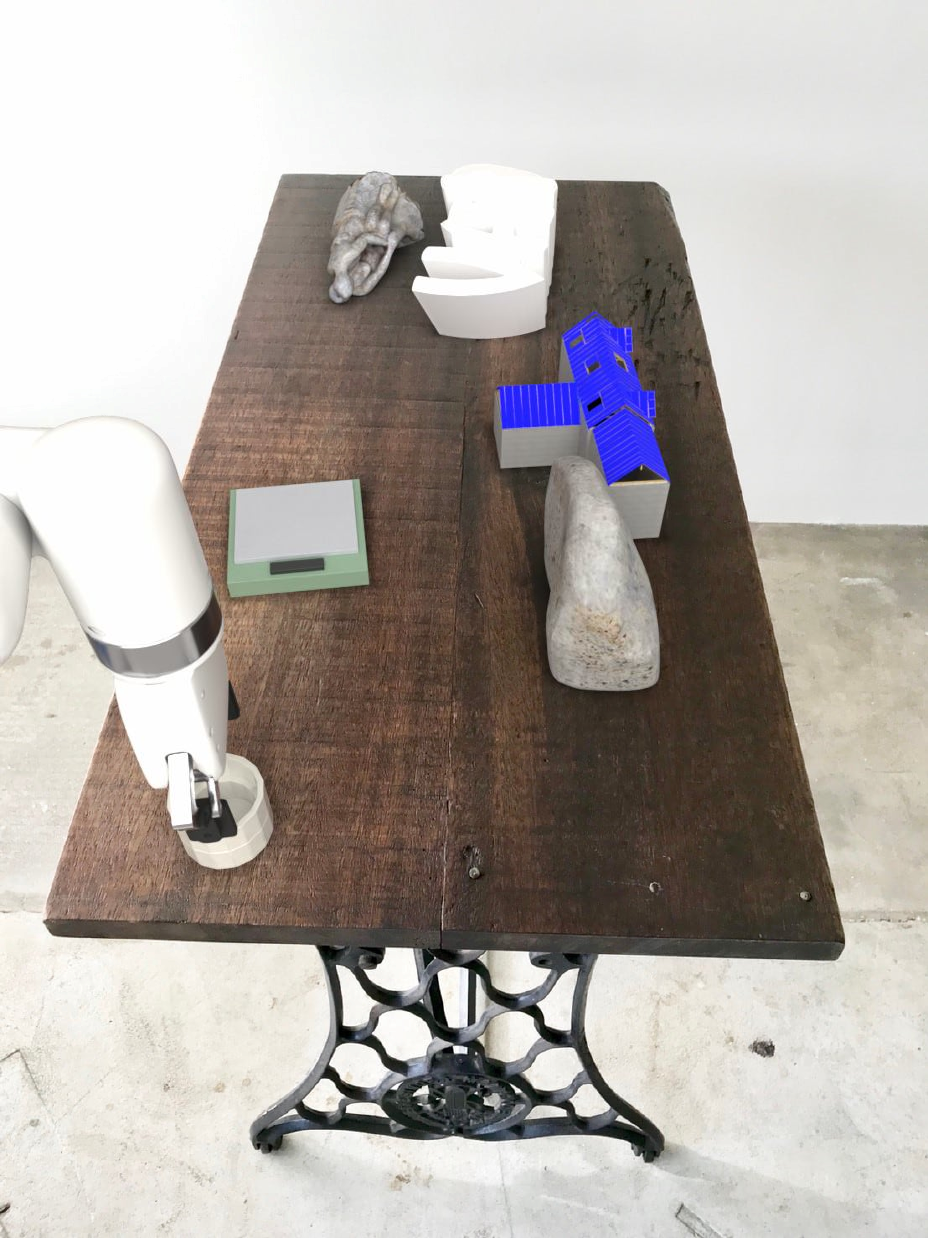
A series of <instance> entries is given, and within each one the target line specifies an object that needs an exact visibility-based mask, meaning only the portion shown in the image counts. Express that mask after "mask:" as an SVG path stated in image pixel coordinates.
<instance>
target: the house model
mask: <svg viewBox="0 0 928 1238" xmlns="http://www.w3.org/2000/svg"><path fill="white" fill-rule="evenodd" d="M595 314H596V315H597V316H594V315H595ZM592 316H594V317H593V318H592V319H590V318H591V317H592ZM598 316H599V317H598ZM588 319H590V320H588ZM587 320H588V322H587ZM560 343H561V344H560V355H559V367H558V368H559V369H558V377H557V382H555V383H554V382H553V383H537V384H534V383H533V384H518V385H517V384H516V385H499V386H498V387H496V388H495V389H494V405H493V406H494V407H493V408H494V409H493V434H494V439H495V444H496V451H497V456H498V461H499V467H500V469H512V468H513V469H514V468H528V467H530V468H531V467H548V466H550V467H551V466H552V464H553V462H554V461H556V460H557V459H558V458H561V457H566V456H579V457H582V458H584V459H586V460H589V461H591V462H592V463H594V464H595V465H596V467H597V468H598V469H599V471H600V473H601V474H602V476H603V478H604V479H605V481H606V483H607V485H608V487H609V489H610V491H611V493H612V495H613V497H614V499H615V501H616V503H617V505H618V507H619V509H620V511H621V513H622V515H623V517H624V519H625V522H626V524H627V526H628V528H629V530H630V533H631V536H632V539H633V540H637V539H652V538H653V539H654V538H659V537H660V533H661V528H662V525H663V524H662V523H663V519H664V514H665V511H666V510H665V509H666V504H667V499H668V495H669V491H670V486H671V480H670V477H669V474H668V471H667V469H666V466H665V465H666V464H665V462H664V460H663V457H662V454H661V451H660V448H659V444H658V442H657V439H656V437H655V429H656V425H655V422H654V418H655V419H656V418H657V413H656V411H657V410H656V394H655V393H656V391H655V390H643V388H642V384H641V382H640V379H639V376H638V373H637V370H636V366H635V365H634V362H633V359H632V357H631V354H630V353H633V352H634V347H633V346H634V345H633V327H632V326H631V327H629V326H628V327H616V326H615V325H614V324H613V323H611V322H610V321H609V320H607V319H606V318H605V317H603V316H602V315H601V314H600V313H599V312H597V311H595V310H594V311H593V312H591V313H590V314H589V315H587V316H586V317H585V318H584V319H582V320H580V321H579V322H578V323H577V324H575V325H574V326H572V327H571V328H570V329H569V330H567V331H566V332H564V333H563V334H562V335H561V342H560ZM599 398H600V400H601V403H600V404H598V405H597V406H595V407H594V408H592V409H591V410H590V411H589V408H588V406H589V405H590V404H591V403H593V402H595V401H596V400H598V399H599ZM612 414H613V415H612ZM603 420H604V421H603ZM597 424H598V425H597Z"/></svg>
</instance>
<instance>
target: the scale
mask: <svg viewBox="0 0 928 1238" xmlns="http://www.w3.org/2000/svg"><path fill="white" fill-rule="evenodd" d="M363 511H364V510H363V501H362V491H361V481H360V478H354V479H342V480H331V481H330V480H329V481H319V482H306V483H297V484H296V483H294V484H284V485H272V486H271V485H270V486H261V487H259V486H258V487H250V488H236V489H235V488H234V489H230V490H229V512H228V513H229V514H228V515H229V516H228V517H229V518H228V539H227V541H228V542H227V567H226V568H227V569H226V570H227V572H226V585H227V589H228V593H229V596H230V598H242V597H251V596H263V595H272V594H283V593H284V594H285V593H294V592H295V593H296V592H304V591H317V590H326V589H336V588H348V587H358V586H368V585H370V575H369V563H368V555H367V554H368V553H367V543H366V534H365V523H364V521H365V520H364V512H363Z"/></svg>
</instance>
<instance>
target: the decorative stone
mask: <svg viewBox="0 0 928 1238" xmlns="http://www.w3.org/2000/svg"><path fill="white" fill-rule="evenodd" d="M547 483H548V484H547V489H546V493H545V502H544V515H543V516H544V517H543V519H544V521H543V527H544V528H543V531H544V533H543V534H544V549H543V560H544V567H545V572H546V578H547V583H548V584H549V585H548V586H549V590H550V593H549V599H548V603H547V610H546V616H545V617H546V618H545V619H546V621H545V635H546V636H545V637H546V646H547V649H546V650H547V659H548V664H549V665H548V666H549V669H550V672H551V675H552V676H553V677H554V679H555V680H556V681H557V682H559V683H560V684H563V685H566V686H568V687H571V688H573V689H574V688H575V689H578V690H583V691H584V690H586V691H601V692H602V691H605V692H625V691H626V692H627V691H638V690H644V689H647V688H648V689H649V688H650V687H653V686H654V685H656V684H657V682H658V681H659V677H660V671H661V669H660V667H661V651H660V650H661V648H660V631H659V630H660V629H659V623H658V616H657V610H656V604H655V599H654V594H653V590H652V587H651V582H650V578H649V575H648V572H647V570H646V567H645V564H644V562H643V560H642V558H641V555H640V553H639V551H638V549H637V546H636V544H635V542H634V541H635V540H634V539H632V536H631V533H630V530H629V528H628V526H627V524H626V522H625V519H624V517H623V515H622V513H621V511H620V509H619V507H618V505H617V503H616V501H615V499H614V497H613V495H612V493H611V491H610V489H609V487H608V485H607V483H606V481H605V479H604V478H603V476H602V474H601V473H600V471H599V469H598V468H597V467H596V465H595V464H594V463H592V462H591V461H589V460H586V459H584V458H582V457H579V456H566V457H561V458H558V459H557V460H556V461H554V462H553V464H552V465H551V468H550V472H549V478H548V482H547Z"/></svg>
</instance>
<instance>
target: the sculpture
mask: <svg viewBox="0 0 928 1238" xmlns="http://www.w3.org/2000/svg"><path fill="white" fill-rule="evenodd" d="M330 235H331V241H332V243H331V246H330V256H329V259H328V262H327V265H326V270H327V273H328V274H329V275H330V276H331V277H334V280H333V283H331V284H330V286H329V289H328V296H329V298H330V300H331V301H332V302H334V303H336V304H342V303H346V302H347V301H348V300H349V299H350V298H351V296H355V297H363V296H366V295H369V293H370V292H372V291H373V289H374V288H375V287H376V286H377V284H378V283H379V282H380V281H381V279H382V277H383V276H384V275H385V274H386V272H387V270H388V268H389V265H390V262H391V259H392V256H393V254H394V252H395V249H400V248H403V247H406V246H409V245H413V244H415V243H418V242H419V243H420V242H421V241H423V239H424V238H425V237H426V236H425V231H424V220H423V216H422V210H421V207H420V205H419V203H418V202H417V201H416V200H414V199H412V197H410V196H409V195H408V193H407V191H405V190H404V189H403V188H402V187H401V186H400V184H399V183H398V181H397V179H396V178H395V177H394V176H393V175H392V174H391V173H389V172H385V171H377V170H372V171H367V172H366V173H365V174H364V175H363V176H361V177H359V178H356V180H354V181H352V182H351V183H350V184H349V185H348V187H347V190H346V191H345V192H344V193H343V194H342V196H341V197H340V200H339V203H338V206H337V209H336V211H335V215H334V218H333V222H332V227H331V229H330Z"/></svg>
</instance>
